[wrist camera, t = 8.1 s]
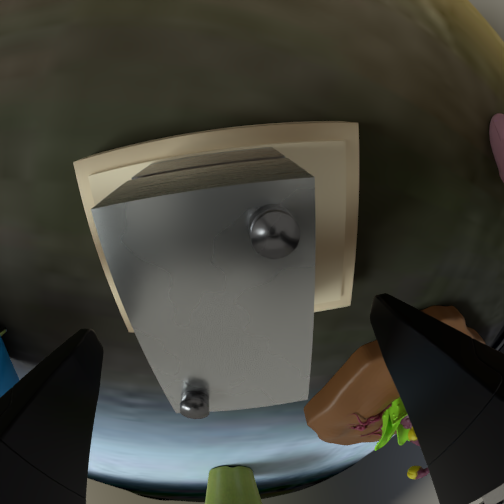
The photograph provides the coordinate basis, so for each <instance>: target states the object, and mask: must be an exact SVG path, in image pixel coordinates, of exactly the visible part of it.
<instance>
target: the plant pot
mask: <svg viewBox="0 0 504 504" xmlns="http://www.w3.org/2000/svg"><path fill="white" fill-rule="evenodd" d="M205 504H262V502H261V499H260V496H259V492H258V489H257V486H256V482H255V479H254V475H253V472H252V470H251V469H250V468H247V467H243V466H237V467H234V468H231V467H228V466H221V467H217V468H213V469H211V470H210V472H209V477H208V486H207V493H206V501H205Z"/></svg>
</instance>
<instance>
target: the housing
mask: <svg viewBox="0 0 504 504" xmlns="http://www.w3.org/2000/svg"><path fill="white" fill-rule="evenodd" d="M131 179H132V180H128V181H126V182H125V183H124V184H122V185H121V186H120V187H118V188H117V189H116V190H114V191H113V192H112V193H111V194H109V195H108V196H107V197H105V198H104V199H103V200H102V201H100V202H99V203H98V204H97V205H96V206H94V207H93V208H92V209H91V212H92V216H93V219H94V223H95V226H96V230H97V233H98V237H99V240H100V243H101V246H102V249H103V252H104V255H105V258H106V261H107V264H108V267H109V270H110V273H111V275H112V278H113V281H114V284H115V286H116V289H117V292H118V294H119V297H120V299H121V302H122V304H123V307H124V309H125V312H126V314H127V316H128V319H129V321H130V323H131V326H132V328H133V330H134V332H135V335H136V337H137V339H138V341H139V343H140V346H141V348H142V350H143V352H144V354H145V356H146V358H147V360H148V362H149V364H150V366H151V368H152V370H153V372H154V374H155V376H156V378H157V380H158V382H159V383H160V385H161V387H162V389H163V391H164V393H165V394H166V396H167V398H168V400H169V402H170V403H171V405H172V407H173V409H174V410H175V412H176V413H181V414H182V415H183V416H185V417H188V418H192V419H202V418H205V417H207V416H208V415H209V412H213V411H227V410H238V409H247V408H256V407H264V406H271V405H278V404H284V403H291V402H296V401H302V400H307V399H308V392H309V381H310V368H311V355H312V339H313V321H314V297H315V251H316V219H315V177H314V176H312V175H311V174H309V173H308V172H307V171H305V170H304V169H303V168H301V167H300V166H298V165H297V164H296V163H294V162H293V161H291V160H290V159H289V158H285V156H284V155H283V154H281V153H280V152H278V151H277V150H276V149H274V148H273V147H263V148H252V149H243V150H234V151H226V152H218V153H211V154H204V155H197V156H191V157H184V158H178V159H173V160H167V161H162V162H156V163H151V164H150V165H149V166H147V167H146V168H144V169H143V170H141V171H140V172H139V173H137V174H136V175H135V176H133V177H132V178H131Z"/></svg>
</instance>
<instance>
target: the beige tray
mask: <svg viewBox="0 0 504 504" xmlns="http://www.w3.org/2000/svg"><path fill="white" fill-rule="evenodd" d="M263 147H273V148H274V149H276V150H277V151H278V152H280V153H281V154H283V155H284V156H285V158H289V159H290V160H291V161H293V162H294V163H296V164H297V165H298V166H300V167H301V168H303V169H304V170H305V171H307V172H308V173H309V174H311V175H312V176H314V177H315V219H316V251H315V297H314V312H318V311H324V310H329V309H335V308H340V307H346V306H350V303H351V295H352V286H353V277H354V266H355V255H356V242H357V226H358V205H359V128H358V123H354V122H345V121H309V122H286V123H271V124H258V125H247V126H238V127H229V128H221V129H214V130H206V131H200V132H193V133H187V134H181V135H176V136H170V137H165V138H160V139H155V140H150V141H146V142H141V143H137V144H132V145H128V146H124V147H120V148H116V149H112V150H108V151H105V152H101V153H97V154H94V155H90V156H88V157H85V158H83V159H80V160H78V161H75V162H73V163H74V168H75V172H76V177H77V181H78V186H79V190H80V194H81V198H82V202H83V206H84V209H85V213H86V217H87V220H88V223H89V227H90V230H91V233H92V237H93V240H94V243H95V246H96V249H97V252H98V255H99V258H100V261H101V264H102V267H103V269H104V272H105V275H106V278H107V280H108V283H109V286H110V288H111V291H112V293H113V296H114V298H115V301H116V303H117V305H118V308H119V310H120V313H121V315H122V317H123V320H124V322H125V324H126V326H127V328H128V331H129V332H134V330H133V328H132V326H131V323H130V321H129V319H128V316H127V314H126V312H125V309H124V307H123V304H122V302H121V299H120V297H119V294H118V292H117V289H116V286H115V284H114V281H113V278H112V275H111V273H110V270H109V267H108V264H107V261H106V258H105V255H104V252H103V249H102V246H101V243H100V240H99V237H98V233H97V230H96V226H95V223H94V219H93V216H92V212H91V209H92V208H93V207H94V206H96V205H97V204H98V203H99V202H100V201H102V200H103V199H104V198H105V197H107V196H108V195H109V194H111V193H112V192H113V191H114V190H116V189H117V188H118V187H120V186H121V185H122V184H124V183H125V182H126V181H128V180H132V179H131V178H132V177H133V176H135V175H136V174H137V173H139V172H140V171H141V170H143V169H144V168H146V167H147V166H149V165H150V164H151V163H156V162H162V161H167V160H173V159H178V158H184V157H191V156H197V155H204V154H211V153H218V152H226V151H234V150H243V149H252V148H263Z"/></svg>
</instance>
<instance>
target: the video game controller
mask: <svg viewBox="0 0 504 504" xmlns="http://www.w3.org/2000/svg"><path fill="white" fill-rule="evenodd" d="M489 136H490V144H491V148H492V152H493V155H494V158H495V161H496V164H497V167H498V169H499V175H500V178H501V179H502V181H503V182H504V114H501V113H498V114H495V115H494V116H493V117H492V119H491V122H490V128H489Z"/></svg>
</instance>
